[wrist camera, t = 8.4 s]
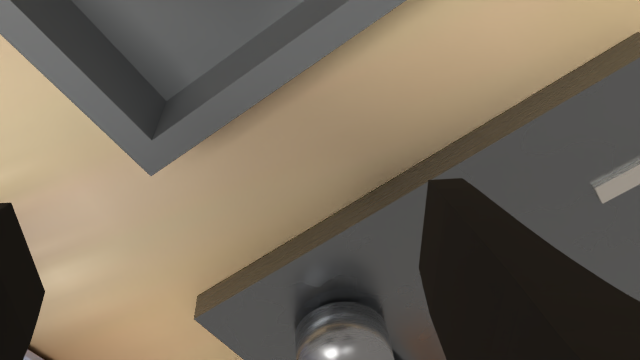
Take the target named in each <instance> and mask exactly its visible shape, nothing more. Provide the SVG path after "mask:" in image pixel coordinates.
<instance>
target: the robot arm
mask: <svg viewBox="0 0 640 360" xmlns="http://www.w3.org/2000/svg"><path fill="white" fill-rule="evenodd" d="M419 271H420V276H421V280H422V285H423V289H424V293H425V297H426V301H427V305H428V309H429V313H430V317H431V320H432V322H433V325H434V328H435V331H436V333H437V336H438V338H439V341H440V344H441V346H442V349H443V352H444V354H445V357H446V360H640V301H638V300H636V299H634V298H633V297H631V296H629V295H627V294H626V293H624V292H622V291H621V290H619V289H617V288H616V287H614V286H612V285H611V284H609V283H608V282H606V281H604V280H603V279H601V278H600V277H598V276H597V275H595V274H594V273H592V272H591V271H589V270H588V269H586V268H585V267H583V266H581V265H580V264H578V263H577V262H575V261H574V260H572V259H571V258H569V257H568V256H566V255H565V254H564V253H562V252H561V251H559V250H558V249H556V248H555V247H554V246H552V245H551V244H549V243H548V242H547V241H545V240H544V239H542V238H541V237H540V236H538V235H537V234H536V233H534V232H533V231H532V230H530V229H529V228H527V227H526V226H525V225H524V224H522V223H521V222H520V221H518V220H517V219H516V218H514V217H513V216H512V215H510V214H509V213H508V212H506V211H505V210H504V209H503V208H501V207H500V206H499V205H497V204H496V203H495V202H494V201H492V200H491V199H490V198H488V197H487V196H486V195H484V194H483V193H482V192H481V191H479V190H478V189H477V188H475V187H474V186H473V185H471V184H470V183H468V182H467V181H466V180H464V179H463V178H454V179H436V180H428V187H427V196H426V205H425V214H424V223H423V232H422V241H421V250H420V259H419ZM44 294H45V290H44V288H43V285H42V282H41V280H40V277H39V275H38V272H37V269H36V267H35V264H34V261H33V259H32V256H31V254H30V251H29V248H28V246H27V243H26V240H25V238H24V235H23V233H22V230H21V227H20V225H19V222H18V219H17V217H16V214H15V212H14V209H13V206H12V204H11V203H0V360H44V359H42V358H41V357H39V356H37V355H36V354H34V353H33V352H31V351H30V350H28V347H29V345H30V342H31V339H32V335H33V332H34V329H35V326H36V323H37V319H38V316H39V312H40V308H41V305H42V301H43V297H44Z"/></svg>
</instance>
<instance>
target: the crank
mask: <svg viewBox="0 0 640 360" xmlns="http://www.w3.org/2000/svg"><path fill="white" fill-rule="evenodd" d="M295 350H296V360H395V359H394V355H393V351H392V347H391V342H390V338H389V334H388V330H387V325H386V322H385V320H384V318H383V317H382V316H381V314H380V313H378V312H377V311H376V310H375V309H373V308H371V307H369V306H367V305H364V304H361V303H356V302H336V303H330V304H327V305H324V306H321V307H319V308H317V309H315V310H313V311H311V312H310V313H309V314H307V315H306V316H305V317H304V318H303V319H302V320H301V322H300V323H299V325H298V326H297V329H296V332H295Z"/></svg>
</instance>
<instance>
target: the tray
mask: <svg viewBox="0 0 640 360" xmlns="http://www.w3.org/2000/svg"><path fill="white" fill-rule="evenodd" d="M404 1H406V0H0V34H1V35H2V36H3V37H4V38H5V39H6V40H7V41H8V42H9V43H10V44H11V45H12V46H14V47H15V48H16V49H17V50H18V51H19V52H20V53H21V54H22V55H23V56H24V57H25V58H26V59H27V60H28V61H29V62H30V63H31V64H33V65H34V66H35V67H36V68H37V69H38V70H39V71H40V72H41V73H42V74H43V75H44V76H45V77H46V78H47V79H48V80H49V81H51V82H52V83H53V84H54V85H55V86H56V87H57V88H58V89H59V90H60V91H61V92H62V93H63V94H64V95H65V96H66V97H67V98H69V99H70V100H71V101H72V102H73V103H74V104H75V105H76V106H77V107H78V108H79V109H80V110H81V111H82V112H83V113H84V114H85V115H87V116H88V117H89V118H90V119H91V120H92V121H93V122H94V123H95V124H96V125H97V126H98V127H99V128H100V129H101V130H102V131H103V132H105V133H106V134H107V135H108V136H109V137H110V138H111V139H112V140H113V141H114V142H115V143H116V144H117V145H118V146H119V147H120V148H121V149H123V150H124V151H125V152H126V153H127V154H128V155H129V156H130V157H131V158H132V159H133V160H134V161H135V162H136V163H137V164H138V165H139V166H141V167H142V168H143V169H144V170H145V171H146V172H147V173H148V174H149V175H150V176H152V175H154V174H155V173H157V172H158V171H159V170H161V169H162V168H164V167H165V166H167V165H168V164H170V163H171V162H172V161H174V160H175V159H177V158H178V157H180V156H181V155H183V154H184V153H186V152H187V151H188V150H190V149H191V148H193V147H194V146H196V145H197V144H199V143H200V142H201V141H203V140H204V139H206V138H207V137H209V136H210V135H212V134H213V133H215V132H216V131H217V130H219V129H220V128H222V127H223V126H225V125H226V124H228V123H229V122H230V121H232V120H233V119H235V118H236V117H238V116H239V115H241V114H242V113H244V112H245V111H246V110H248V109H249V108H251V107H252V106H254V105H255V104H257V103H258V102H259V101H261V100H262V99H264V98H265V97H267V96H268V95H270V94H271V93H273V92H274V91H275V90H277V89H278V88H280V87H281V86H283V85H284V84H286V83H287V82H288V81H290V80H291V79H293V78H294V77H296V76H297V75H299V74H300V73H302V72H303V71H304V70H306V69H307V68H309V67H310V66H312V65H313V64H315V63H316V62H317V61H319V60H320V59H322V58H323V57H325V56H326V55H328V54H329V53H331V52H332V51H333V50H335V49H336V48H338V47H339V46H341V45H342V44H344V43H345V42H346V41H348V40H349V39H351V38H352V37H354V36H355V35H357V34H358V33H360V32H361V31H362V30H364V29H365V28H367V27H368V26H370V25H371V24H373V23H374V22H375V21H377V20H378V19H380V18H381V17H383V16H384V15H386V14H387V13H389V12H390V11H391V10H393V9H394V8H396V7H397V6H399V5H400V4H402V3H403V2H404Z"/></svg>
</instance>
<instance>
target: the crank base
mask: <svg viewBox="0 0 640 360" xmlns="http://www.w3.org/2000/svg"><path fill="white" fill-rule="evenodd" d="M454 178H463V179H464V180H466V181H467V182H468V183H470V184H471V185H473V186H474V187H475V188H477V189H478V190H479V191H481V192H482V193H483V194H484V195H486V196H487V197H488V198H490V199H491V200H492V201H494V202H495V203H496V204H497V205H499V206H500V207H501V208H503V209H504V210H505V211H506V212H508V213H509V214H510V215H512V216H513V217H514V218H516V219H517V220H518V221H520V222H521V223H522V224H524V225H525V226H526V227H527V228H529V229H530V230H532V231H533V232H534V233H536V234H537V235H538V236H540V237H541V238H542V239H544V240H545V241H547V242H548V243H549V244H551V245H552V246H554V247H555V248H556V249H558V250H559V251H561V252H562V253H564V254H565V255H566V256H568V257H569V258H571V259H572V260H574V261H575V262H577V263H578V264H580V265H581V266H583V267H585V268H586V269H588V270H589V271H591V272H592V273H594V274H595V275H597V276H598V277H600V278H601V279H603V280H604V281H606V282H608V283H609V284H611V285H612V286H614V287H616V288H617V289H619V290H621V291H622V292H624V293H626V294H627V295H629V296H631V297H633V298H634V299H636V300H638V301H640V33H639V32H638V33H636V34H634V35H633V36H631V37H629V38H628V39H626V40H624V41H623V42H621V43H619V44H618V45H616V46H614V47H613V48H611V49H609V50H608V51H606V52H604V53H603V54H601V55H599V56H598V57H596V58H594V59H593V60H591V61H589V62H588V63H586V64H584V65H583V66H581V67H579V68H578V69H576V70H574V71H573V72H571V73H569V74H568V75H566V76H564V77H563V78H561V79H559V80H558V81H556V82H554V83H553V84H551V85H549V86H548V87H546V88H544V89H543V90H541V91H539V92H538V93H536V94H534V95H533V96H531V97H529V98H528V99H526V100H524V101H523V102H521V103H519V104H518V105H516V106H514V107H513V108H511V109H509V110H507V111H506V112H504V113H502V114H501V115H499V116H497V117H496V118H494V119H492V120H491V121H489V122H487V123H486V124H484V125H482V126H481V127H479V128H477V129H476V130H474V131H472V132H471V133H469V134H467V135H466V136H464V137H462V138H461V139H459V140H457V141H456V142H454V143H452V144H451V145H449V146H447V147H446V148H444V149H442V150H441V151H439V152H437V153H436V154H434V155H432V156H431V157H429V158H427V159H426V160H424V161H422V162H421V163H419V164H417V165H416V166H414V167H412V168H411V169H409V170H407V171H406V172H404V173H402V174H401V175H399V176H397V177H396V178H394V179H392V180H391V181H389V182H387V183H386V184H384V185H382V186H381V187H379V188H377V189H376V190H374V191H372V192H371V193H369V194H367V195H366V196H364V197H362V198H361V199H359V200H357V201H356V202H354V203H352V204H351V205H349V206H347V207H346V208H344V209H342V210H341V211H339V212H337V213H336V214H334V215H332V216H331V217H329V218H327V219H326V220H324V221H322V222H321V223H319V224H317V225H316V226H314V227H312V228H311V229H309V230H307V231H306V232H304V233H302V234H301V235H299V236H297V237H296V238H294V239H292V240H291V241H289V242H287V243H286V244H284V245H282V246H280V247H279V248H277V249H275V250H274V251H272V252H270V253H269V254H267V255H265V256H264V257H262V258H260V259H259V260H257V261H255V262H254V263H252V264H250V265H249V266H247V267H245V268H244V269H242V270H240V271H239V272H237V273H235V274H234V275H232V276H230V277H229V278H227V279H225V280H224V281H222V282H220V283H219V284H217V285H215V286H214V287H212V288H210V289H209V290H207V291H205V292H204V293H202V294H200V295H199V296H197V302H196V308H195V315H194V320H196V321H197V322H198V323H199V324H201V325H202V326H203V327H204V328H205V329H207V330H208V331H209V332H210V333H212V334H213V335H214V336H215V337H217V338H218V339H219V340H220V341H221V342H223V343H224V344H225V345H226V346H228V347H229V348H230V349H231V350H233V351H234V352H235V353H236V354H237V355H239V356H240V357H241V358H242V359H244V360H296V350H295V332H296V329H297V326H298V325H299V323H300V322H301V320H302V319H303V318H304V317H305V316H306V315H307V314H309V313H310V312H311V311H313V310H315V309H317V308H319V307H321V306H324V305H327V304H330V303H336V302H356V303H361V304H364V305H367V306H369V307H371V308H373V309H375V310H376V311H377V312H378V313H380V314H381V316H382V317H383V318H384V320H385V322H386V325H387V330H388V334H389V338H390V342H391V347H392V351H393V355H394V359H395V360H446V357H445V354H444V352H443V349H442V346H441V344H440V341H439V338H438V336H437V333H436V331H435V328H434V325H433V322H432V320H431V317H430V313H429V309H428V305H427V301H426V297H425V293H424V289H423V285H422V280H421V276H420V271H419V259H420V250H421V241H422V232H423V223H424V214H425V205H426V196H427V187H428V180H436V179H454Z"/></svg>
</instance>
